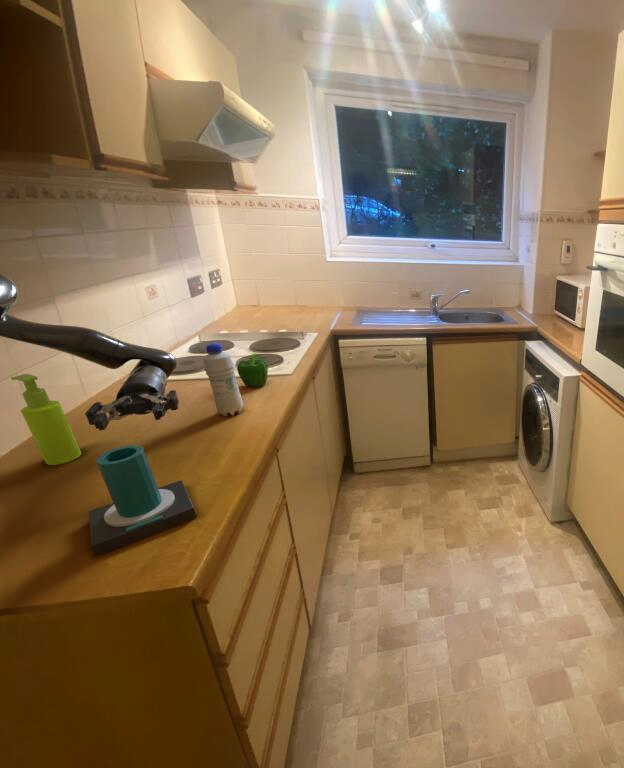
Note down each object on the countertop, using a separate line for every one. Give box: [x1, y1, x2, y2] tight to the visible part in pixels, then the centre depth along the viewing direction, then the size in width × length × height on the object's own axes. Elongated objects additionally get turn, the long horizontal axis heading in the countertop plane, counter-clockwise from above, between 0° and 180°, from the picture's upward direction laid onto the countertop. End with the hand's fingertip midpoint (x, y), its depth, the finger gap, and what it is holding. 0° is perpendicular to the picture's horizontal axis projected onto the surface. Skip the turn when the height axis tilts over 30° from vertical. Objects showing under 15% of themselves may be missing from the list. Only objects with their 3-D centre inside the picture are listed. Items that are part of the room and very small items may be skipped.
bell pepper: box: [237, 352, 269, 388], centre depth 137 cm, size 8×8×10 cm
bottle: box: [203, 342, 244, 417], centre depth 117 cm, size 7×7×20 cm
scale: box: [88, 479, 198, 557], centre depth 79 cm, size 14×12×3 cm
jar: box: [96, 444, 162, 518], centre depth 77 cm, size 6×6×11 cm
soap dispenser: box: [10, 373, 82, 466], centre depth 95 cm, size 6×7×20 cm
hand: (128, 420), depth 84 cm, fingers open, 8 cm apart
